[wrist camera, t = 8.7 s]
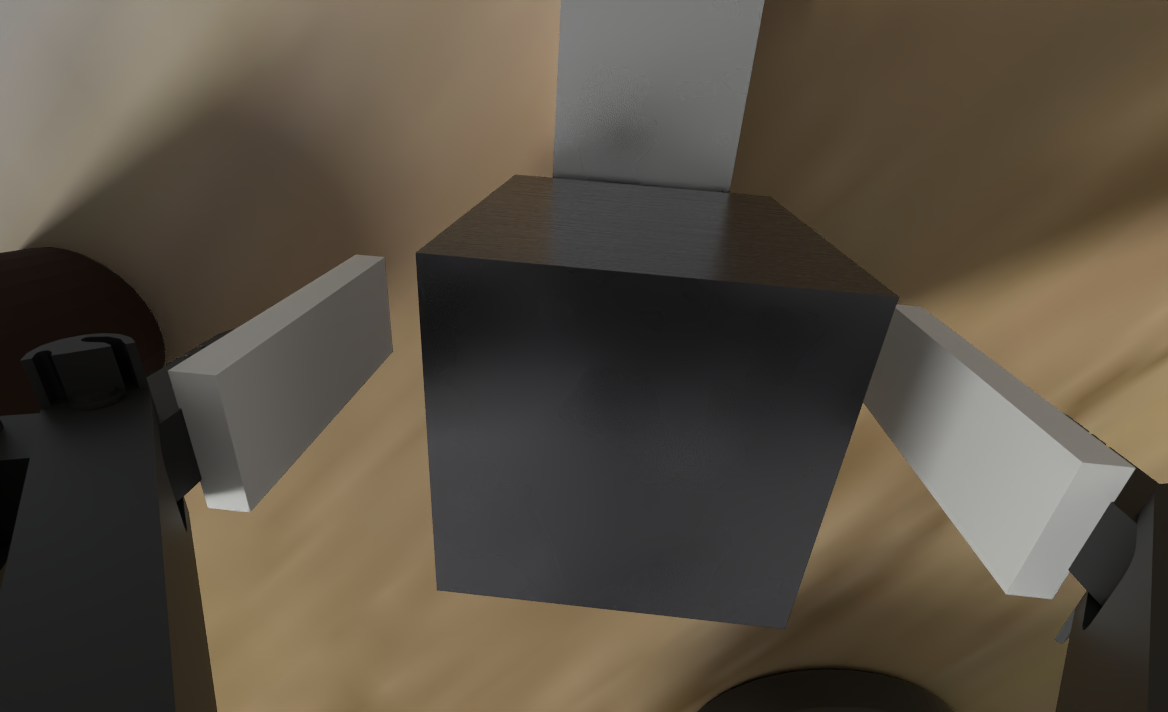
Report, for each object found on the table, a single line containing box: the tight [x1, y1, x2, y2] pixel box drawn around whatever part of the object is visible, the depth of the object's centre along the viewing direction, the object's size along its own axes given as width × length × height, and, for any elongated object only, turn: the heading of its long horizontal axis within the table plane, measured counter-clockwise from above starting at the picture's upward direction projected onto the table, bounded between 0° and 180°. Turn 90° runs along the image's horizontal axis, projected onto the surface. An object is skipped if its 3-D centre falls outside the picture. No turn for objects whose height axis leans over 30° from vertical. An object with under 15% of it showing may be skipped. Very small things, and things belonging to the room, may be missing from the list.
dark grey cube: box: [416, 175, 899, 629], centre depth 13 cm, size 7×7×8 cm
